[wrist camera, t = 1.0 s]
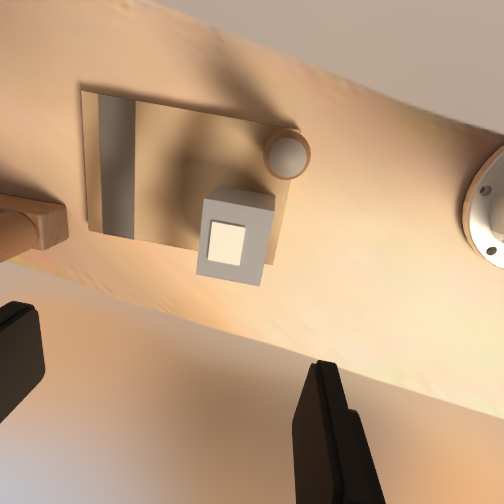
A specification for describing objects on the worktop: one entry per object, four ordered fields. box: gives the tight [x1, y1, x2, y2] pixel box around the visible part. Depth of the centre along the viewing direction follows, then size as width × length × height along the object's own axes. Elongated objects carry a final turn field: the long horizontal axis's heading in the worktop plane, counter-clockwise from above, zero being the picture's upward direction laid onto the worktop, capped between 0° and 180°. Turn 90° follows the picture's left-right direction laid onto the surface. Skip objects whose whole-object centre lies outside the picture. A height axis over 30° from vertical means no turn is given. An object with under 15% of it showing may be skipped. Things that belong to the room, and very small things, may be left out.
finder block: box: [196, 186, 276, 286], centre depth 24 cm, size 5×6×6 cm
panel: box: [81, 91, 301, 265], centre depth 26 cm, size 18×12×1 cm, turn 81°
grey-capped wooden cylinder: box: [263, 130, 311, 180], centre depth 20 cm, size 3×3×9 cm
